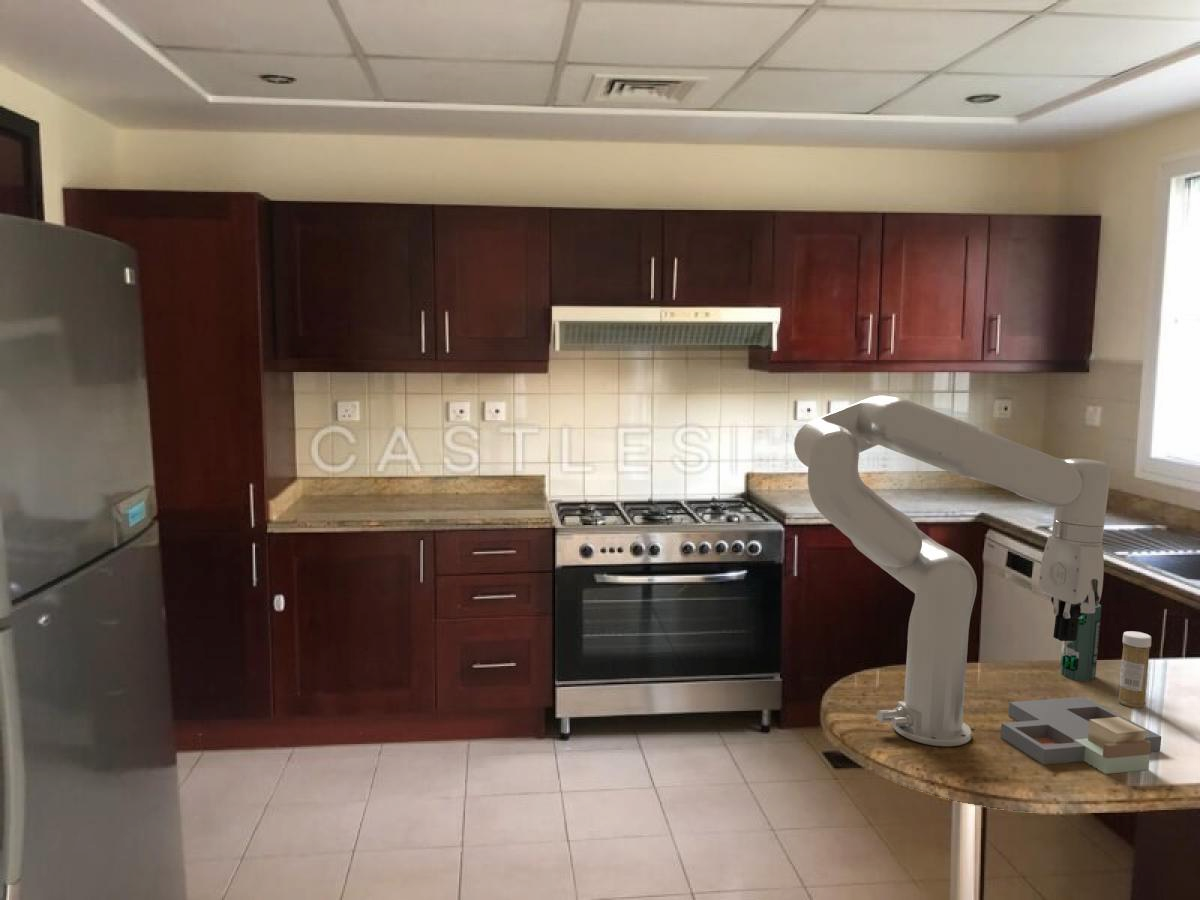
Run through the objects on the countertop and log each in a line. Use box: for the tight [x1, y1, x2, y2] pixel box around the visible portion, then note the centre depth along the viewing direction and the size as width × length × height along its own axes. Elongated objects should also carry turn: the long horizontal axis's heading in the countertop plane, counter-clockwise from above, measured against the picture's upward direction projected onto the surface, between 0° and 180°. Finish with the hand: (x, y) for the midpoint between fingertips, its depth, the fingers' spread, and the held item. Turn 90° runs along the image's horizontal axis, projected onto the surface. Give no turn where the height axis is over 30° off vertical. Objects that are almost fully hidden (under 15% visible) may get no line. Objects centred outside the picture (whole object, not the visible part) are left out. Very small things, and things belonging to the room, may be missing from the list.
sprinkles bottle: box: [1117, 630, 1152, 709], centre depth 171 cm, size 5×5×13 cm
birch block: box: [1088, 717, 1146, 748], centre depth 147 cm, size 6×6×4 cm
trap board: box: [1000, 696, 1162, 775], centre depth 155 cm, size 23×23×4 cm
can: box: [1059, 603, 1102, 682], centre depth 186 cm, size 6×6×15 cm
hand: (1064, 639), depth 156 cm, fingers closed
